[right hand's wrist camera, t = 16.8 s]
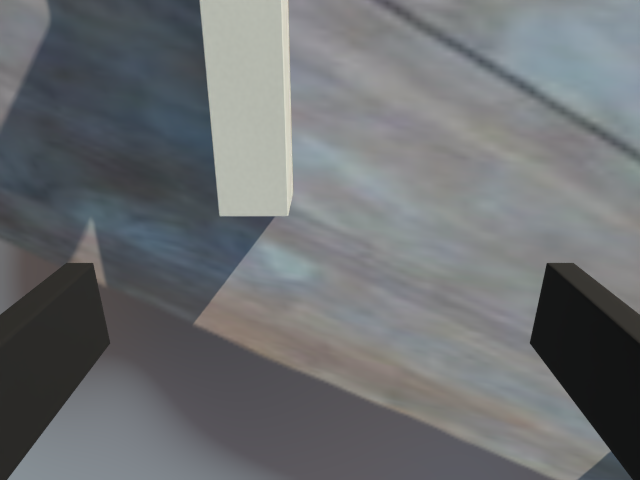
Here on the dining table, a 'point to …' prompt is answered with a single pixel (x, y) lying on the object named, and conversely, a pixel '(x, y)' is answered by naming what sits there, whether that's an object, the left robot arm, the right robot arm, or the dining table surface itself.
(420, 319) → the dining table surface
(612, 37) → the dining table surface
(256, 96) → the plank
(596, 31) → the dining table surface
